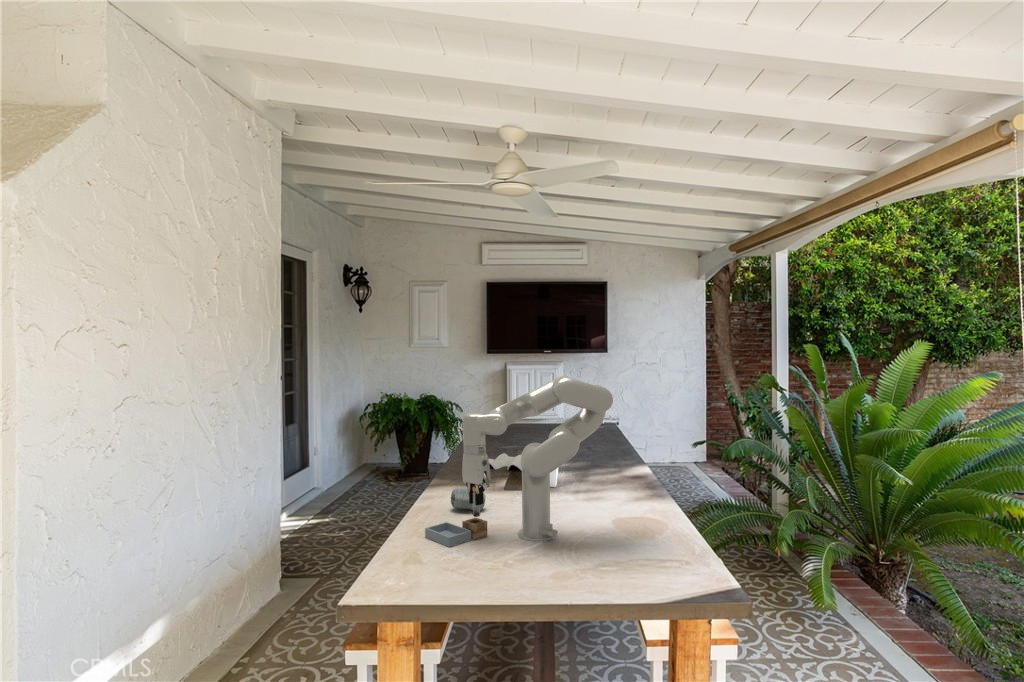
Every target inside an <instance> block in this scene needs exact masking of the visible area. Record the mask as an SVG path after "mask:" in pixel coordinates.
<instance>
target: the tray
mask: <svg viewBox="0 0 1024 682" xmlns="http://www.w3.org/2000/svg"><path fill="white" fill-rule="evenodd" d="M424 538H425V539H428V540H431V541H433V542H436V543H438V544H440V545H443V546H446V547H448V548H451V547H455V546H458V545H460V544H464V543H467V542H469V541H472V539H471V530H468V529H465V528H462V526H460V525H457V524H454V523H451V522H448V521H446V522H442V523H438V524H435V525H432V526H428V527H425V528H424Z"/></svg>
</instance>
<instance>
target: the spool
mask: <svg viewBox="0 0 1024 682" xmlns="http://www.w3.org/2000/svg"><path fill="white" fill-rule="evenodd" d="M483 501H484V503H483V504H481V505H480V511H482V510H483V509H484V507H485V504H486V493H485V491H484V492H483ZM450 504H451V507H452V508H454V509H463V510H471V511H473V503H472V504H470V503H469V492H468V488H467V487H466V486H465V487H463V486H462V487H459V486H458V487H455V488H453V489H452V492H451V494H450Z"/></svg>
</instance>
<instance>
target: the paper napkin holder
mask: <svg viewBox="0 0 1024 682" xmlns="http://www.w3.org/2000/svg"><path fill="white" fill-rule="evenodd" d="M521 456H522V453H521V454H518V455H516V456H509V455H508V454H507V453H505V452H504V453H501V454H499V455H498V456H497V457H495V459H493V458H488V459H489V465H491V467H493V469H494V470H498V469H501V468H503V467H507V468H506V469H507V470H509V469H510V468H511V466H515V467H516V468H518V469H519V470H520V471H521V472H522V465H521Z"/></svg>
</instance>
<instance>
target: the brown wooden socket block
mask: <svg viewBox="0 0 1024 682" xmlns="http://www.w3.org/2000/svg"><path fill="white" fill-rule="evenodd" d="M461 524H462V526H461V527H462V528H465V529H468V530H471V541H472V540H473V541H476V540H480V539H482V538H486V537H488V520H485V519H482V518H479V517H471V518H469V519H466V520H462V522H461Z"/></svg>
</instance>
